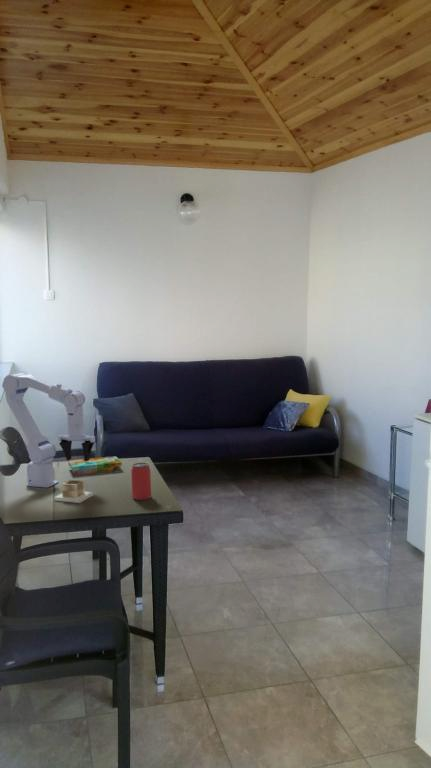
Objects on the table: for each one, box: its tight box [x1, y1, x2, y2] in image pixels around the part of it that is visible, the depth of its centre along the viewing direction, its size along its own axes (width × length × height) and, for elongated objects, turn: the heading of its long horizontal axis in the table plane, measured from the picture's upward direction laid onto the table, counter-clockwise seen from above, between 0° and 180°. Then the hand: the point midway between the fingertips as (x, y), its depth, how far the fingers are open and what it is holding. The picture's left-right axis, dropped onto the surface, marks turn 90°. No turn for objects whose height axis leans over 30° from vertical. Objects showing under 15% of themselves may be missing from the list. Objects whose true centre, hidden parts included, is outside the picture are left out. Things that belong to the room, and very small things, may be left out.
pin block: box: [54, 491, 94, 504], centre depth 236 cm, size 10×9×5 cm
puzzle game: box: [67, 456, 123, 476], centre depth 275 cm, size 12×5×20 cm
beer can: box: [130, 462, 152, 501], centre depth 234 cm, size 7×7×12 cm
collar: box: [61, 479, 86, 498], centre depth 236 cm, size 6×6×4 cm
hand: (77, 460), depth 249 cm, fingers open, 7 cm apart
